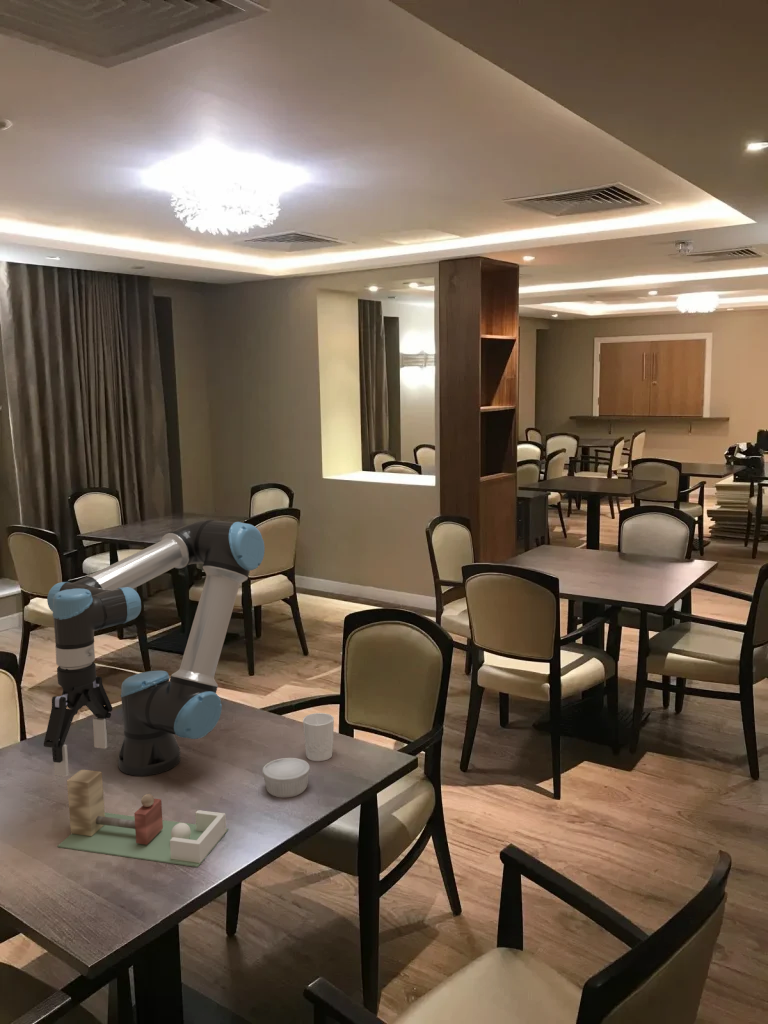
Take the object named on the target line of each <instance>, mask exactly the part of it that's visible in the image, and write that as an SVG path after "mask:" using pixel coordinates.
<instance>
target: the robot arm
mask: <svg viewBox="0 0 768 1024" xmlns="http://www.w3.org/2000/svg"><path fill="white" fill-rule="evenodd" d="M160 539H161V540H160V541H159V542H156V543H154V544H152V545H150V546H148V547H146V548H143V549H142V550H139V551H137V552H136V553H133V554H131V555H128V556H127V557H124V558H123V559H121V560H118V561H117V562H114V563H112V564H110V565H107V566H106V567H104V568H102V569H99V570H98V571H96V572H94V573H91V574H89V575H87V576H86V577H83V578H81V579H79V580H77V581H75V582H71V581H61V582H58V583H55V584H54V585H53V586H52V587H51V588H50V589H49V591H48V593H47V600H46V602H47V606H48V609H50V611H51V612H52V618H53V628H54V629H53V630H54V641H55V664H56V665H57V666H58V667H57V668H56V675H57V684H58V685H59V686H60V687H61V688H62V694H61V695H59V696H55V695H54V696H52V698H51V709H50V710H51V711H50V714H49V718H48V723H47V727H46V731H45V736H44V741H43V747H45V748H51V752H52V753H51V754H52V761H53V768H54V776H59V777H64V778H65V777H68V776H70V774H69V773H70V771H69V757H68V744H65V743H66V739H67V737H68V734H69V731H70V729H71V725H72V723H73V720H74V716H75V715H78V712H79V710H81V709H82V708H83V707H87V709H88V710H89V711H90V712H91V713H92V714H93V715H94V716H95V717H94V718H92V725H93V726H92V727H93V729H92V730H93V731H92V732H93V744H94V745H93V746H94V749H95V748H96V749H97V748H98V749H107V748H108V735H107V733H108V732H107V727H108V725H107V719H110V718H111V716H112V712H113V705H112V704H111V701H110V699H109V696H108V694H107V693H106V692H107V691H106V690H105V687H104V684H103V678H102V676H99V675H98V676H97V669H96V666H97V665H96V663H95V660H96V655H95V653H96V652H95V631H100V630H103V629H106V628H107V629H108V628H110V627H114V626H118V625H121V624H126V623H128V622H130V621H132V620H135V619H136V618H138V616H139V615H140V613H141V611H142V601H141V597H140V595H139V593H138V592H137V590H136V588H137V587H140V586H141V585H144V584H145V583H147V582H149V581H151V580H153V579H155V578H157V577H159V576H161V575H163V574H164V573H167V572H168V571H170V570H172V569H174V568H175V569H183V568H185V567H186V566H189V565H193V564H202V569H203V571H204V573H205V576H206V577H205V580H204V583H203V584H204V585H203V587H202V590H201V594H200V598H199V600H198V605H197V607H196V610H195V615H194V618H193V621H192V625H191V628H190V632H189V635H188V639H187V643H186V646H185V648H184V652H183V656H182V660H181V663H180V666H179V669H178V670H177V671H175V672H173V673H172V674H171V675H169V672H167V671H165V670H148V671H144V672H140V673H137V674H132V675H131V676H128V677H127V678H125V679H124V680H123V681H122V682H121V683H122V684H121V685H120V687H121V688H120V689H121V694H120V699H121V710H122V712H121V714H122V724H123V739H122V743H121V747H120V750H119V753H118V758H117V760H118V761H117V762H118V763H117V764H118V768H119V771H121V772H122V773H124V774H126V775H129V776H136V777H137V776H139V777H143V776H153V775H156V774H161V773H164V772H166V771H169V770H171V769H172V768H173V769H174V768H175V767H176V766H177V765H178V764H179V763H180V761H181V749H180V746H179V745H178V742H177V739H176V737H175V736H177V737H179V738H184V739H191V740H198V739H202V738H203V737H205V736H207V735H208V733H211V732H212V731H213V729H215V727H216V726H217V724H218V723H219V720H220V717H221V715H222V708H223V707H222V706H223V704H222V703H221V702H222V700H221V697H220V696H219V694H217V692H218V691H217V690H218V687H219V685H218V683H217V681H216V680H215V674H216V671H217V668H218V663H219V660H220V657H221V653H222V649H223V646H224V643H225V639H226V635H227V631H228V627H229V624H230V621H231V617H232V613H233V611H234V610H233V609H234V606H235V603H236V599H237V596H238V592H239V588H240V585H241V584H242V583H244V582H246V581H248V579H249V576H250V571H255V570H257V568H258V567H259V566H260V565H261V564H262V562H263V560H264V557H265V548H266V547H265V541H264V539H263V535H262V533H261V531H260V530H259V529H258V528H257V527H256V526H254V525H253V524H251V523H245V522H241V521H228V520H227V521H225V520H216V519H201V520H198V521H194V522H192V523H188V524H186V525H183V526H181V527H178V528H177V529H174V530H172V531H170V532H168V533H166V534H164V535H163V536H162V537H161V538H160Z"/></svg>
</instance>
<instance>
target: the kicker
mask: <svg viewBox="0 0 768 1024" xmlns="http://www.w3.org/2000/svg"><path fill="white" fill-rule="evenodd" d="M66 787H67V797H68V798H67V799H68V812H69V823H70V824H69V825H70V834H79V835H86V836H92V835H94V834H95V833H96V832H97V831H98V830H99V829H100V828H101V827H102V826H104V825H109V826H116V827H124V828H131V829H135V832H136V843H139V844H146V845H147V844H148V843H149V842H150V841H151V840H152V839H153V838H154V837H155V836H156V835H157V834H158V833H159V832H160V831H161V830H162V829H163V821H162V820H163V809H162V808H163V806H162V799H161V798H155V797H154V795H153V794H152V793H146V794H144V795H143V796H142V797H141V800H140V802H141V803H140V804H141V807H139V808H138V809H137V810H136V811H135V812H134V815H133V816H135V821H133V820H126V819H118V818H110V817H105V813H106V812H105V799H104V785H103V772H102V771H96V770H89V769H80V770H78V771H77V772H76V773H74V774H73V775H72V776H70V777H69V778H68V779H67V780H66Z"/></svg>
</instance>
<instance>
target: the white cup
mask: <svg viewBox="0 0 768 1024" xmlns="http://www.w3.org/2000/svg"><path fill="white" fill-rule="evenodd" d="M334 719H335V718H334V716H333V715H332V714H331V713H325V712H314V713H310V714H307V715H305V716H304V717H303V719H302V724H303V738H304V746H305V756H306V758H307V760H310V761H312V762H323V761H327V760H330V759H331V758H332V756H333V746H334V730H335V727H334V726H335V725H334V722H335V721H334Z"/></svg>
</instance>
